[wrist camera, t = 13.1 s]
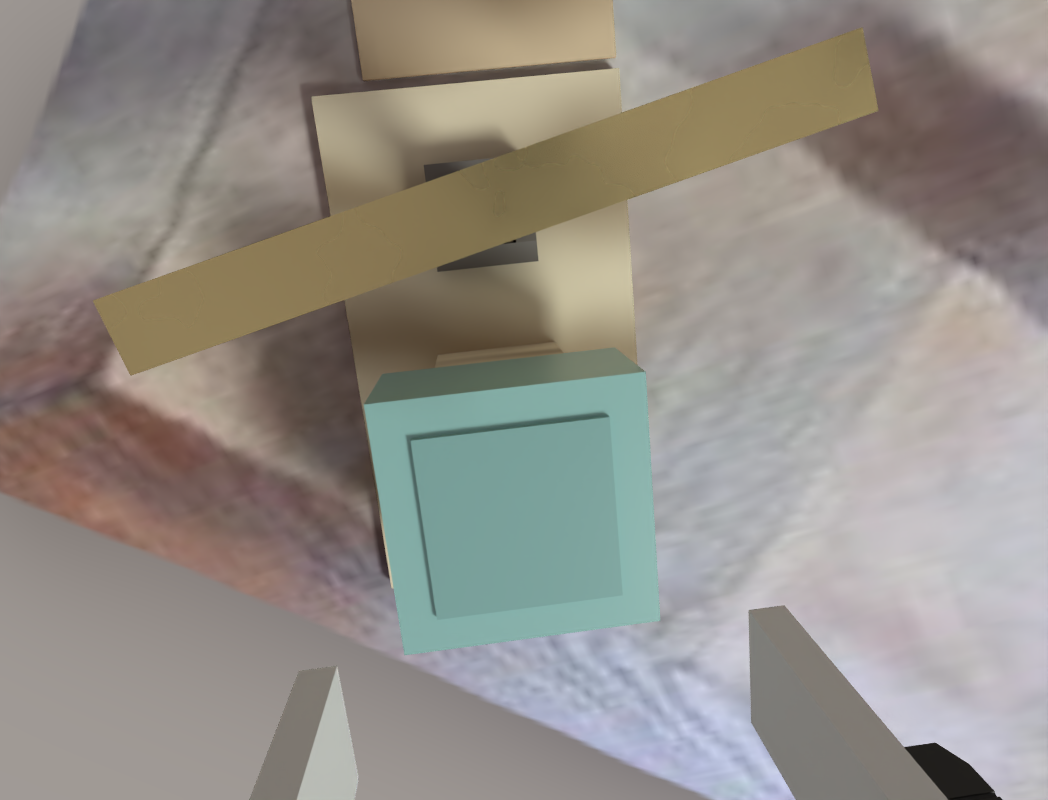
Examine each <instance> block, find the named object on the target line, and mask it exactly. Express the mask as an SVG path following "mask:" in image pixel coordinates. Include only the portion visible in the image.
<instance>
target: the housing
mask: <svg viewBox="0 0 1048 800" xmlns="http://www.w3.org/2000/svg"><path fill="white" fill-rule="evenodd" d="M311 100H312V106H313V112H314V118H315V124H316V130H317V136H318V142H319V149H320V155H321V161H322V167H323V173H324V179H325V185H326V191H327V197H328V203H329V209H330V216H333V215H335V214H338V213H341V212H344V211H347V210H349V209H352V208H355V207H358V206H361V205H364V204H366V203H369V202H372V201H375V200H378V199H380V198H383V197H386V196H389V195H392V194H395V193H397V192H400V191H403V190H406V189H409V188H411V187H414V186H417V185H420V184H423V183H426V182H428V181H431V180H434V179H437V178H440V177H442V176H445V175H448V174H451V173H454V172H456V171H459V170H462V169H465V168H468V167H471V166H473V165H476V164H479V163H482V162H485V161H487V160H490V159H493V158H496V157H499V156H502V155H504V154H507V153H510V152H513V151H516V150H518V149H521V148H524V147H527V146H530V145H533V144H535V143H538V142H541V141H544V140H547V139H549V138H552V137H555V136H558V135H561V134H563V133H566V132H569V131H572V130H575V129H578V128H580V127H583V126H586V125H589V124H592V123H594V122H597V121H600V120H603V119H606V118H609V117H611V116H614V115H617V114H620V113H622V108H621V91H620V75H619V68H614V69H603V70H593V71H582V72H571V73H560V74H550V75H539V76H528V77H517V78H507V79H496V80H485V81H474V82H464V83H453V84H442V85H431V86H421V87H410V88H399V89H388V90H378V91H367V92H356V93H345V94H335V95H324V96H313V97H311ZM344 301H345V307H346V313H347V319H348V325H349V331H350V338H351V344H352V350H353V356H354V362H355V368H356V374H357V380H358V386H359V392H360V398H361V405H362V411H363V417H364V423H365V429H366V435H367V441H368V447H369V453H370V459H371V466H372V472H373V478H374V484H375V490H376V496H377V502H378V508H379V514H380V520H381V527H382V533H383V539H384V545H385V551H386V557H387V563H388V569H389V575H390V581H391V587H392V588H394V587H393V581H392V575H391V569H390V562H389V556H388V550H387V544H386V538H385V532H384V526H383V520H382V513H381V507H380V501H379V495H378V489H377V483H376V477H375V471H374V464H373V458H372V452H371V446H370V440H369V434H368V428H367V422H366V415H365V409H364V403H365V402H366V400H367V398H368V397H369V395H370V393H371V392H372V390H373V388H374V387H375V385H376V383H377V382H378V380H379V378H380V377H381V375H382V374H386V373H394V372H403V371H412V370H421V369H430V368H438V367H447V366H456V365H465V364H473V363H482V362H491V361H500V360H508V359H517V358H526V357H535V356H544V355H552V354H561V353H570V352H579V351H587V350H596V349H605V348H614V347H615V348H616V349H618V350H619V351H620V352H621V353H623V354H624V355H625V356H626V357H628V358H629V359H630V360H631V361H633V362H634V363H635V364H636V365H637V351H636V334H635V318H634V302H633V286H632V270H631V253H630V237H629V221H628V205H627V200H625V201H622V202H619V203H617V204H614V205H611V206H608V207H605V208H602V209H600V210H597V211H594V212H591V213H588V214H585V215H583V216H580V217H577V218H574V219H571V220H569V221H566V222H563V223H560V224H557V225H554V226H552V227H549V228H546V229H543V230H540V231H538V232H535V233H532V234H529V235H526V236H523V237H521V238H518V239H515V240H512V241H509V242H506V243H504V244H501V245H498V246H495V247H492V248H490V249H487V250H484V251H481V252H478V253H475V254H473V255H470V256H467V257H464V258H461V259H458V260H456V261H453V262H450V263H447V264H444V265H442V266H439V267H436V268H433V269H430V270H427V271H425V272H422V273H419V274H416V275H413V276H411V277H408V278H405V279H402V280H399V281H396V282H394V283H391V284H388V285H385V286H382V287H379V288H377V289H374V290H371V291H368V292H365V293H363V294H360V295H357V296H354V297H351V298H348V299H346V300H344Z"/></svg>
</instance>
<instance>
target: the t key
mask: <svg viewBox="0 0 1048 800" xmlns="http://www.w3.org/2000/svg"><path fill="white" fill-rule="evenodd" d="M876 111H878V106H877V101H876V96H875V91H874V85H873V80H872V75H871V70H870V65H869V59H868V54H867V49H866V44H865V39H864V33H863V28H859V29H856V30H854V31H851V32H848V33H845V34H842V35H839V36H837V37H834V38H831V39H828V40H825V41H823V42H820V43H817V44H814V45H811V46H808V47H806V48H803V49H800V50H797V51H794V52H792V53H789V54H786V55H783V56H780V57H777V58H775V59H772V60H769V61H766V62H763V63H761V64H758V65H755V66H752V67H749V68H747V69H744V70H741V71H738V72H735V73H732V74H730V75H727V76H724V77H721V78H718V79H716V80H713V81H710V82H707V83H704V84H701V85H699V86H696V87H693V88H690V89H687V90H685V91H682V92H679V93H676V94H673V95H670V96H668V97H665V98H662V99H659V100H656V101H654V102H651V103H648V104H645V105H642V106H640V107H637V108H634V109H631V110H628V111H625V112H623V113H620V114H617V115H614V116H611V117H609V118H606V119H603V120H600V121H597V122H594V123H592V124H589V125H586V126H583V127H580V128H578V129H575V130H572V131H569V132H566V133H563V134H561V135H558V136H555V137H552V138H549V139H547V140H544V141H541V142H538V143H535V144H533V145H530V146H527V147H524V148H521V149H518V150H516V151H513V152H510V153H507V154H504V155H502V156H499V157H496V158H493V159H490V160H487V161H485V162H482V163H479V164H476V165H473V166H471V167H468V168H465V169H462V170H459V171H456V172H454V173H451V174H448V175H445V176H442V177H440V178H437V179H434V180H431V181H428V182H426V183H423V184H420V185H417V186H414V187H411V188H409V189H406V190H403V191H400V192H397V193H395V194H392V195H389V196H386V197H383V198H380V199H378V200H375V201H372V202H369V203H366V204H364V205H361V206H358V207H355V208H352V209H349V210H347V211H344V212H341V213H338V214H335V215H333V216H330V217H327V218H324V219H321V220H319V221H316V222H313V223H310V224H307V225H304V226H302V227H299V228H296V229H293V230H290V231H288V232H285V233H282V234H279V235H276V236H273V237H271V238H268V239H265V240H262V241H259V242H257V243H254V244H251V245H248V246H245V247H243V248H240V249H237V250H234V251H231V252H228V253H226V254H223V255H220V256H217V257H214V258H212V259H209V260H206V261H203V262H200V263H197V264H195V265H192V266H189V267H186V268H183V269H181V270H178V271H175V272H172V273H169V274H166V275H164V276H161V277H158V278H155V279H152V280H150V281H147V282H144V283H141V284H138V285H136V286H133V287H130V288H127V289H124V290H121V291H119V292H116V293H113V294H110V295H107V296H105V297H102V298H99V299H96V300H93V302H94V304H95V306H96V308H97V310H98V312H99V314H100V316H101V318H102V320H103V322H104V324H105V326H106V328H107V330H108V332H109V334H110V336H111V338H112V340H113V342H114V344H115V346H116V348H117V350H118V352H119V354H120V356H121V358H122V360H123V362H124V364H125V366H126V368H127V369H128V371H129V373H130V375H134V374H137V373H140V372H142V371H145V370H148V369H151V368H154V367H157V366H159V365H162V364H165V363H168V362H171V361H173V360H176V359H179V358H182V357H185V356H188V355H190V354H193V353H196V352H199V351H202V350H205V349H207V348H210V347H213V346H216V345H219V344H221V343H224V342H227V341H230V340H233V339H236V338H238V337H241V336H244V335H247V334H250V333H252V332H255V331H258V330H261V329H264V328H267V327H269V326H272V325H275V324H278V323H281V322H284V321H286V320H289V319H292V318H295V317H298V316H300V315H303V314H306V313H309V312H312V311H315V310H317V309H320V308H323V307H326V306H329V305H332V304H334V303H337V302H340V301H343V300H346V299H348V298H351V297H354V296H357V295H360V294H363V293H365V292H368V291H371V290H374V289H377V288H379V287H382V286H385V285H388V284H391V283H394V282H396V281H399V280H402V279H405V278H408V277H411V276H413V275H416V274H419V273H422V272H425V271H427V270H430V269H433V268H436V267H439V266H442V265H444V264H447V263H450V262H453V261H456V260H458V259H461V258H464V257H467V256H470V255H473V254H475V253H478V252H481V251H484V250H487V249H490V248H492V247H495V246H498V245H501V244H504V243H506V242H509V241H512V240H515V239H518V238H521V237H523V236H526V235H529V234H532V233H535V232H538V231H540V230H543V229H546V228H549V227H552V226H554V225H557V224H560V223H563V222H566V221H569V220H571V219H574V218H577V217H580V216H583V215H585V214H588V213H591V212H594V211H597V210H600V209H602V208H605V207H608V206H611V205H614V204H617V203H619V202H622V201H625V200H628V199H631V198H633V197H636V196H639V195H642V194H645V193H648V192H650V191H653V190H656V189H659V188H662V187H664V186H667V185H670V184H673V183H676V182H679V181H681V180H684V179H687V178H690V177H693V176H696V175H698V174H701V173H704V172H707V171H710V170H712V169H715V168H718V167H721V166H724V165H727V164H729V163H732V162H735V161H738V160H741V159H743V158H746V157H749V156H752V155H755V154H758V153H760V152H763V151H766V150H769V149H772V148H775V147H777V146H780V145H783V144H786V143H789V142H791V141H794V140H797V139H800V138H803V137H806V136H808V135H811V134H814V133H817V132H820V131H823V130H825V129H828V128H831V127H834V126H837V125H839V124H842V123H845V122H848V121H851V120H854V119H856V118H859V117H862V116H865V115H868V114H870V113H873V112H876Z"/></svg>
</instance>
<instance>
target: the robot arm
mask: <svg viewBox="0 0 1048 800" xmlns="http://www.w3.org/2000/svg"><path fill="white" fill-rule="evenodd" d="M749 647H750V690H751V723H752V725H753V726H754V728H755V730H756V731H757V733H758V735H759V737H760V738H761V740H762V742H763V744H764V745H765V747H766V749H767V751H768V752H769V754H770V756H771V758H772V759H773V761H774V763H775V765H776V766H777V768H778V770H779V771H780V773H781V775H782V777H783V778H784V780H785V782H786V784H787V785H788V787H789V789H790V791H791V792H792V794H793V796H794V798H795V799H796V800H1002V799H1001V798H1000V797H997V796H996V795H995V791H994V790H993V789H992V788H991V787H990V786H989V785H988V784H987V783H986V782H985V781H984V779H983V778H982V777H981V776H980V775H979V774H978V773H977V772H976V771H975V770H974V769H973V768H972V767H971V766H970V765H969V764H968V763H967V762H965V761H963V760H962V759H960V758H959V757H957V756H956V755H954V754H952V753H951V752H949V751H948V750H946V749H945V748H943V747H941V746H940V745H938V744H937V743H930V744H923V745H916V746H909V747H903V746H902V744H901V743H900V742H899V741H898V740H897V738H896V737H895V736H894V735H893V734H892V733H891V731H890V730H889V729H888V728H887V727H886V725H885V724H884V723H883V722H882V721H881V719H880V718H879V717H878V716H877V715H876V714H875V712H874V711H873V710H872V709H871V708H870V706H869V705H868V704H867V703H866V702H865V701H864V699H863V698H862V697H861V696H860V695H859V693H858V692H857V691H856V690H855V689H854V687H853V686H852V685H851V684H850V683H849V682H848V680H847V679H846V678H845V677H844V676H843V674H842V673H841V672H840V671H839V670H838V669H837V667H836V666H835V665H834V664H833V663H832V661H831V660H830V659H829V658H828V657H827V655H826V654H825V653H824V652H823V651H822V650H821V648H820V647H819V646H818V645H817V644H816V642H815V641H814V640H813V639H812V638H811V636H810V635H809V634H808V633H807V632H806V631H805V629H804V628H803V627H802V626H801V625H800V623H799V622H798V621H797V620H796V619H795V618H794V616H793V615H792V614H791V613H790V612H789V610H788V609H787V608H786V607H785V606H776V607H769V608H761V609H754V610H749ZM358 780H359V778H358V772H357V768H356V762H355V757H354V752H353V746H352V741H351V736H350V731H349V725H348V720H347V715H346V710H345V704H344V699H343V694H342V689H341V684H340V679H339V673H338V668H337V666H332V667H325V668H317V669H310V670H302V671H299V672H298V675H297V678H296V680H295V683H294V685H293V688H292V690H291V693H290V696H289V698H288V701H287V704H286V706H285V709H284V711H283V714H282V716H281V719H280V722H279V724H278V727H277V729H276V732H275V735H274V737H273V740H272V742H271V745H270V748H269V750H268V753H267V756H266V758H265V760H264V763H263V766H262V768H261V771H260V773H259V776H258V779H257V781H256V784H255V786H254V789H253V792H252V794H251V797H250V799H249V800H355V795H356V790H357V785H358Z"/></svg>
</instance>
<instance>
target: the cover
mask: <svg viewBox="0 0 1048 800" xmlns="http://www.w3.org/2000/svg"><path fill="white" fill-rule="evenodd" d="M364 409H365V415H366V422H367V428H368V434H369V440H370V446H371V452H372V458H373V464H374V471H375V477H376V483H377V489H378V495H379V501H380V507H381V513H382V520H383V526H384V532H385V538H386V544H387V550H388V556H389V562H390V569H391V575H392V581H393V587H394V593H395V599H396V605H397V611H398V618H399V624H400V630H401V636H402V642H403V648H404V654H405V655H410V654H418V653H425V652H432V651H440V650H447V649H455V648H462V647H469V646H477V645H484V644H492V643H499V642H506V641H514V640H521V639H529V638H536V637H543V636H551V635H558V634H566V633H573V632H580V631H588V630H595V629H603V628H610V627H617V626H625V625H632V624H640V623H647V622H654V621H660V608H659V591H658V574H657V557H656V540H655V523H654V506H653V489H652V472H651V455H650V438H649V421H648V404H647V387H646V372H645V371H644V370H643V369H641V368H640V367H639V366H638V365H636V364H635V363H634V362H633V361H631V360H630V359H629V358H628V357H626V356H625V355H624V354H623V353H621V352H620V351H619V350H618V349H616V348H615V347H614V348H605V349H596V350H587V351H579V352H570V353H561V354H552V355H544V356H535V357H526V358H517V359H508V360H500V361H491V362H482V363H473V364H465V365H456V366H447V367H438V368H430V369H421V370H412V371H403V372H394V373H386V374H382V375H381V377H380V378H379V380H378V382H377V383H376V385H375V387H374V388H373V390H372V392H371V393H370V395H369V397H368V398H367V400H366V402H365V403H364Z"/></svg>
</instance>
